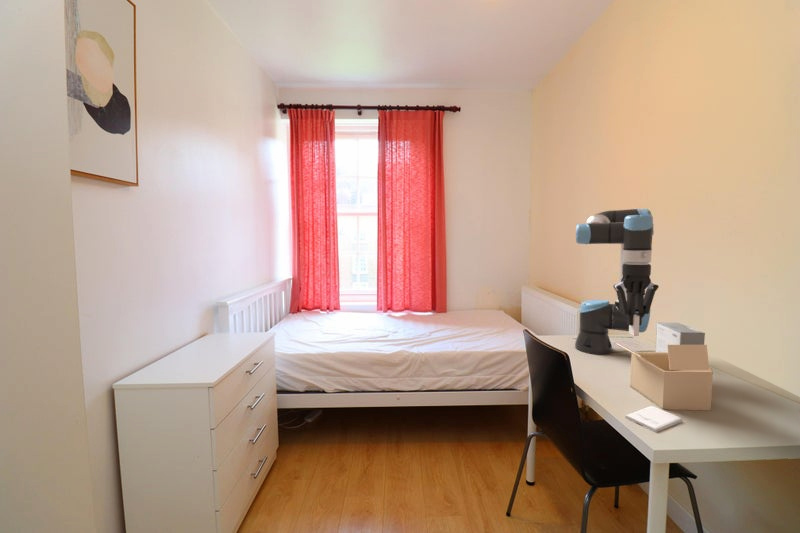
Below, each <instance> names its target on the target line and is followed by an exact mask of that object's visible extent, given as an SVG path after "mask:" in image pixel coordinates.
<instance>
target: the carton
mask: <svg viewBox="0 0 800 533" xmlns="http://www.w3.org/2000/svg"><path fill="white" fill-rule="evenodd" d="M634 353H636V354H638V355H640V356H642V357H643V358H645V359H646V360H648V361H650V362H651V363H653V364H655V365H656V366H658V367H659V368H658V367H656V366H654V365H652V364H650V363H648V362H647V361H645V360H643V359H641V358H639V357H637V356H636V355H634V354H632V353H630V354H631V358H630V360H631V361H630V382H629V383H630V384H629V386H630V388H632V389H633V390H634V391H636V392H637V393H639V394H640V395H641V396H643V397H644V398H646V399H647V400H649V401H650V402H652V404H654V405H655V406H657V408H659V409H661V410H670V411H671V410H672V411H673V410H674V411H675V410H676V411H677V410H678V411H679V410H681V411H683V410H684V411H685V410H686V411H687V410H688V411H690V410H691V411H693V410H694V411H711V408H712V394H713V378H714V376H713V375H714V374H713V373H714V372H713V371H712V370H713V369H712V368H710V367H709V369H710V370H670V367H669V357H668V352H656V351H653V352H651V351H650V352H649V351H647V352H645V351H642V352H640V351H639V352H638V351H637V352H636V351H635V352H634Z"/></svg>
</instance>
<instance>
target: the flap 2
mask: <svg viewBox="0 0 800 533" xmlns="http://www.w3.org/2000/svg"><path fill="white" fill-rule="evenodd" d="M667 348H668V357H669V367H670V370H710V369H711V368H710V363H709V354H708V345H707V344H704V345H667ZM709 368H710V369H709Z"/></svg>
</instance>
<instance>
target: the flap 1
mask: <svg viewBox="0 0 800 533" xmlns="http://www.w3.org/2000/svg"><path fill="white" fill-rule="evenodd" d="M615 344H616V345H617V346H619V347H621V348H622V349H624V350H626V351H627V352H629V353H630V354H634V355H636V356H637V357H639V358H641V359H643V360H645V361H647V362H648V363H650V364H652V365H654V366H656V365H655V364H653V363H651V362H650V361H648V360H646V359H645V358H643V357H642V356H640V355H638V354H636V353H635V352H634V351H632V350H631V349H628V348H627V347H625V346H623V345H621V344H619V343H618V342H616V343H615ZM656 367H658V366H656ZM658 368H659V367H658Z"/></svg>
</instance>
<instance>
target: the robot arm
mask: <svg viewBox="0 0 800 533" xmlns="http://www.w3.org/2000/svg"><path fill="white" fill-rule="evenodd" d="M653 219H654V217H653V214H652V212H651V211H650V210H649V209H648V208H632V209H617V210H614V209H613V210H606V211H605V210H604V211H601V212H599V213H598V212H597V213H595V214H592V215H591V216H590V217H589V218H588V219H587V220H586V222H584V223H579V224H577V225H576V226H575V242H576V243H577V244H579V245H594V244H595V245H597V244H598V245H602V244H604V245H605V244H607V245H608V244H610V245H612V244H614V245H617V244H618V245H620V259H619V260H620V262H619V283H617V284H616V283H615V284H613V289H614V290H615V292H616V296H617V298H616V299H615V300H614V303H610V300H607V299H589V300H584V301H582V302H581V304H580V307H579V313H580V314H579V315H580V316H579V332H578V334H577V337H576V339H575V342H574V343H575V344H574V347H575V349H576V350H578V351H581V352H583V353H587V354H593V355H608V354H611V353H612V352H613V345H612V342H611V339H610V337H609V330H611V331H621V332H628V334H629V335H630V336H633V337H639V334H640V333H645V332H646V331H647V329H648V326H649V323H650V316H651V307H652V303H653V301H654V297H655V293H656V291H657V290H658V289H659V286H660V285H658V284H654V282H652V280H651V278H650V276H651V274H652V272H651V271H652V265H651V264H650V263H651V262H652V250H653V248H652V245H653V236H654V233H655V232H654V220H653Z"/></svg>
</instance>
